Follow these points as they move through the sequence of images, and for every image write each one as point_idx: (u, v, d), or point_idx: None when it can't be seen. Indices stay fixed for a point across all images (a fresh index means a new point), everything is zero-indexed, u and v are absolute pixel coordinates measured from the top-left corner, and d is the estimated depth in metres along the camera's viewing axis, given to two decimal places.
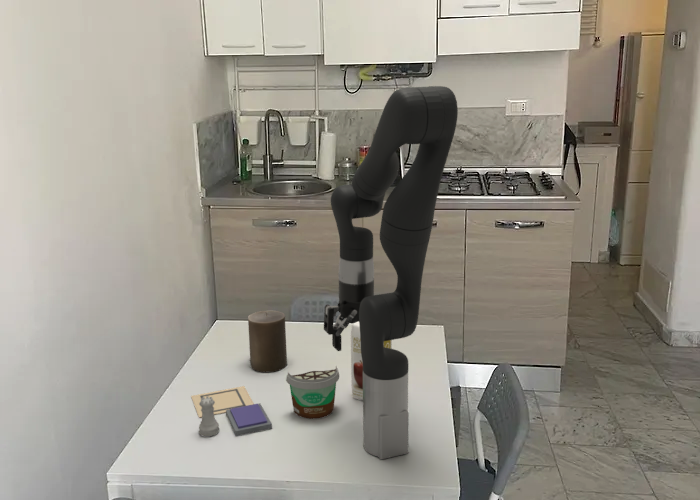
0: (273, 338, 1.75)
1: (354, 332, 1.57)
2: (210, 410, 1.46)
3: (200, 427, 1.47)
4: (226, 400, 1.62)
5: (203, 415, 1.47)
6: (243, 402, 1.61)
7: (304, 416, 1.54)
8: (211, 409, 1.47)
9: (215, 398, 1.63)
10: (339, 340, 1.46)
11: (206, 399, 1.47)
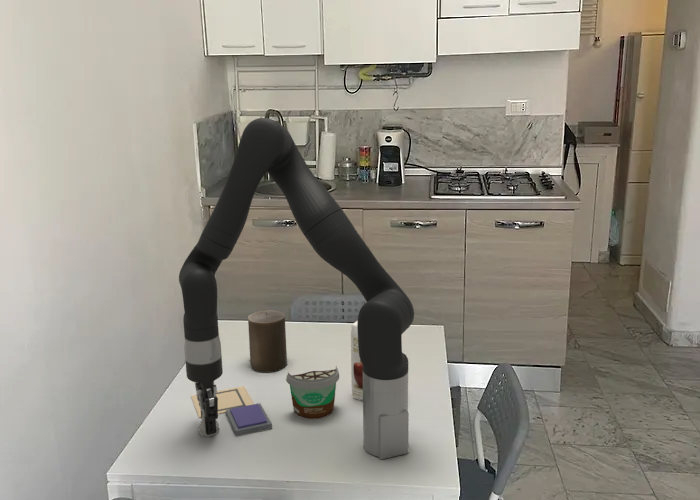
0: (273, 338, 1.75)
1: (354, 332, 1.57)
2: None
3: (200, 427, 1.47)
4: (226, 400, 1.62)
5: (203, 415, 1.47)
6: (243, 402, 1.61)
7: (304, 416, 1.54)
8: None
9: None
10: (215, 421, 1.46)
11: None
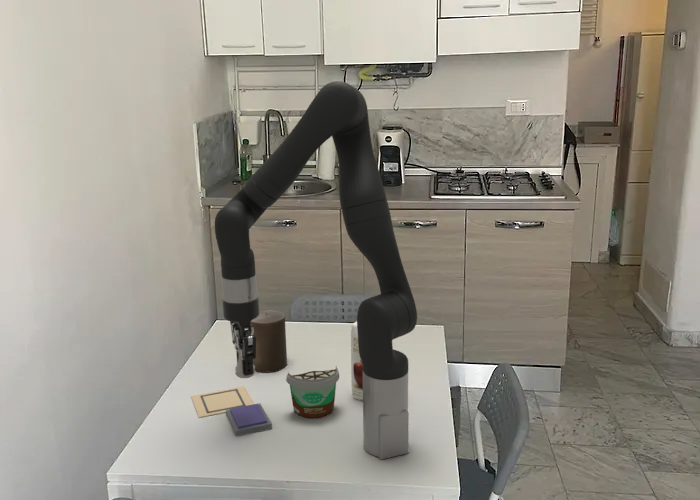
0: (273, 338, 1.75)
1: (354, 332, 1.57)
2: None
3: (237, 369, 1.48)
4: (226, 400, 1.62)
5: (240, 356, 1.47)
6: (243, 402, 1.61)
7: (304, 416, 1.54)
8: None
9: (215, 398, 1.63)
10: None
11: None
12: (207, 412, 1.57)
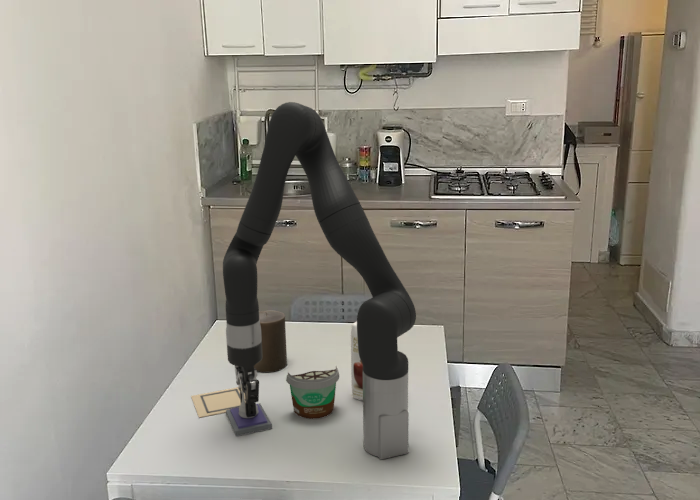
0: (273, 338, 1.75)
1: (354, 332, 1.57)
2: None
3: (240, 409, 1.51)
4: (226, 400, 1.62)
5: (243, 397, 1.51)
6: None
7: (304, 416, 1.54)
8: None
9: (215, 398, 1.63)
10: (255, 404, 1.50)
11: None
12: (207, 412, 1.57)
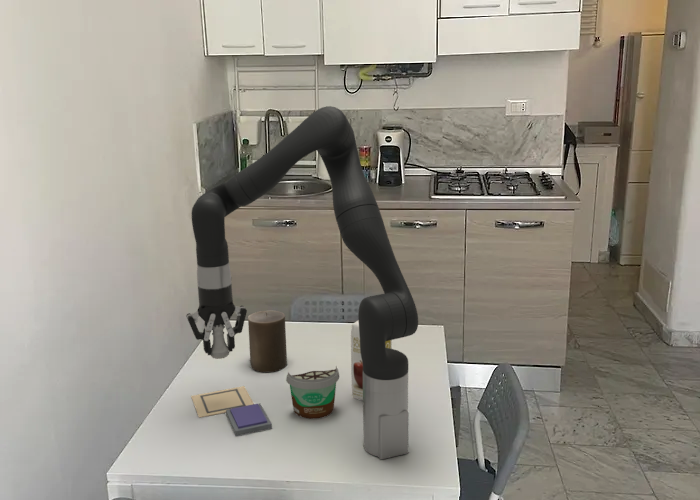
0: (273, 338, 1.75)
1: (354, 332, 1.57)
2: None
3: (223, 350, 1.57)
4: (226, 400, 1.62)
5: (221, 338, 1.57)
6: (243, 402, 1.61)
7: (304, 416, 1.54)
8: None
9: (215, 398, 1.63)
10: None
11: None
12: (207, 412, 1.57)
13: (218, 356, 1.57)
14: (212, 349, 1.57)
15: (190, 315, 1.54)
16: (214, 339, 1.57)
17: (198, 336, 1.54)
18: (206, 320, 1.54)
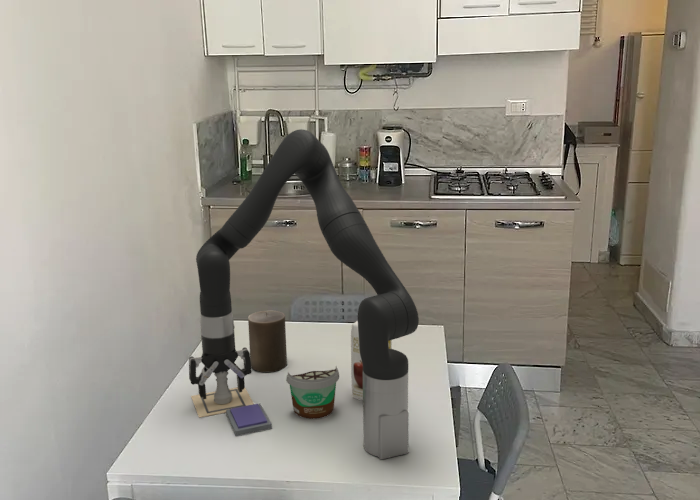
0: (273, 338, 1.75)
1: (354, 332, 1.57)
2: None
3: (226, 396, 1.60)
4: None
5: (225, 384, 1.60)
6: (243, 402, 1.61)
7: (304, 416, 1.54)
8: None
9: None
10: None
11: None
12: (207, 412, 1.57)
13: (221, 402, 1.60)
14: (216, 395, 1.60)
15: (193, 359, 1.56)
16: (218, 385, 1.60)
17: (193, 381, 1.57)
18: (208, 365, 1.57)
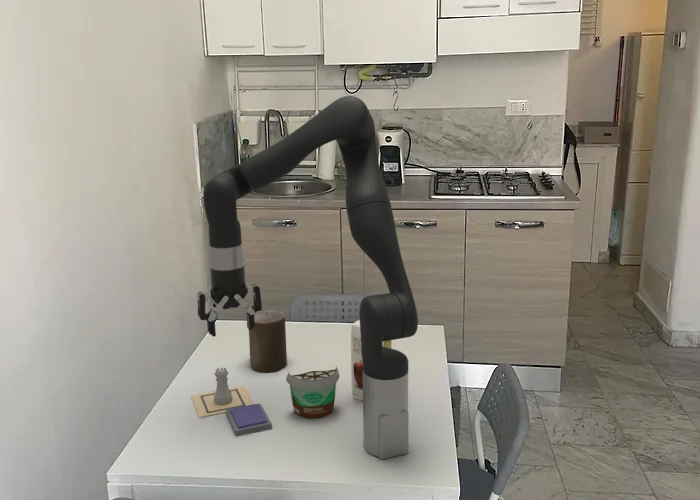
0: (273, 338, 1.75)
1: (354, 332, 1.57)
2: None
3: (226, 396, 1.60)
4: None
5: (225, 384, 1.60)
6: (243, 402, 1.61)
7: (304, 416, 1.54)
8: None
9: None
10: None
11: (219, 371, 1.60)
12: (207, 412, 1.57)
13: (221, 402, 1.60)
14: (216, 395, 1.60)
15: (203, 293, 1.51)
16: (218, 385, 1.60)
17: (202, 316, 1.52)
18: (217, 301, 1.52)
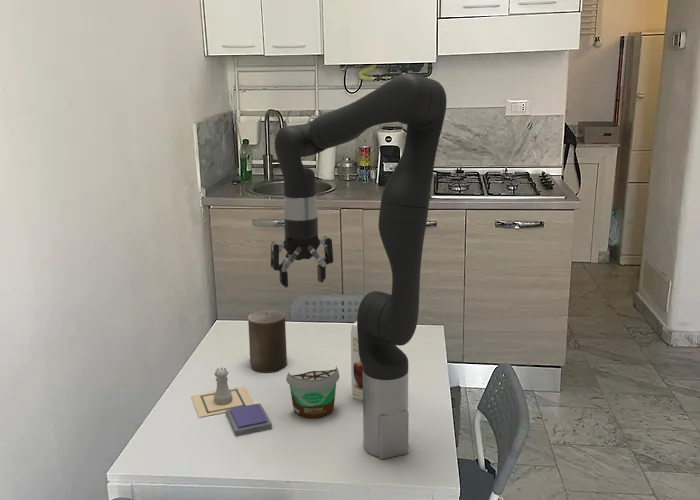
0: (273, 338, 1.75)
1: (354, 332, 1.57)
2: None
3: (226, 396, 1.60)
4: None
5: (225, 384, 1.60)
6: (243, 402, 1.61)
7: (304, 416, 1.54)
8: None
9: None
10: None
11: (219, 371, 1.60)
12: (207, 412, 1.57)
13: (221, 402, 1.60)
14: (216, 395, 1.60)
15: (276, 243, 1.52)
16: (218, 385, 1.60)
17: (276, 267, 1.52)
18: (290, 251, 1.53)
